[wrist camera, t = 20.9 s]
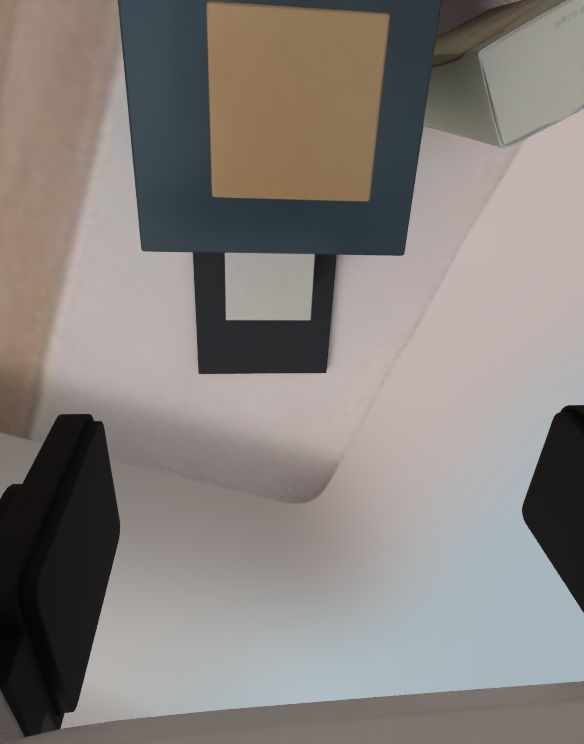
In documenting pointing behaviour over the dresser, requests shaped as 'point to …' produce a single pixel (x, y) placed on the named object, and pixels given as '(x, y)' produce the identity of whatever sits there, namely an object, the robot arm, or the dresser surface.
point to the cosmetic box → (509, 72)
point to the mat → (260, 326)
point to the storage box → (193, 149)
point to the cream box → (268, 286)
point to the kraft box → (294, 100)
